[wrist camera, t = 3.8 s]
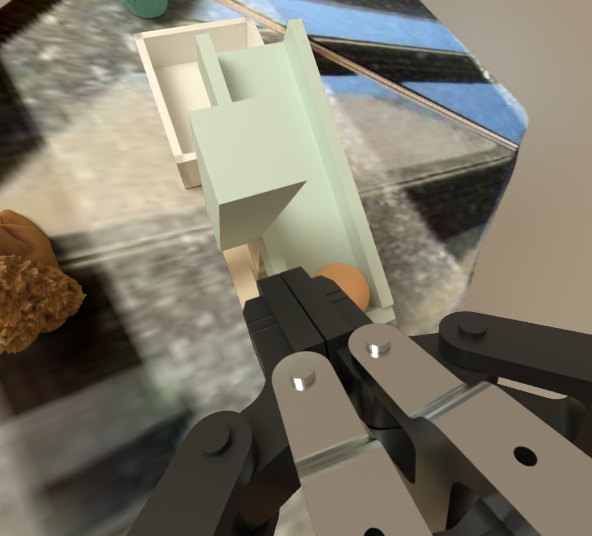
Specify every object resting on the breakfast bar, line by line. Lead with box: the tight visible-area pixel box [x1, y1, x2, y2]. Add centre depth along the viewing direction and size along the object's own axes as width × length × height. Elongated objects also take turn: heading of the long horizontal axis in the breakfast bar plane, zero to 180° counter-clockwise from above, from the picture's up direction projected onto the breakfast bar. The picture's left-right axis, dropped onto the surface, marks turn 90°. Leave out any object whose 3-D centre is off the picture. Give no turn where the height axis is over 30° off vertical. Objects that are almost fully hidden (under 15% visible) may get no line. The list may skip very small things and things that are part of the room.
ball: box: [312, 263, 370, 312], centre depth 20 cm, size 4×4×4 cm
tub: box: [133, 16, 264, 189], centre depth 37 cm, size 16×13×4 cm
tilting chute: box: [188, 18, 396, 325], centre depth 17 cm, size 23×10×16 cm, turn 21°
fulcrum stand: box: [222, 241, 268, 309], centre depth 29 cm, size 12×10×11 cm
